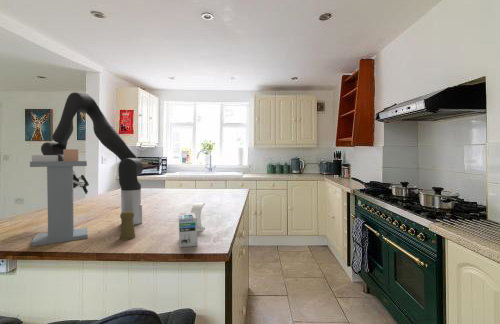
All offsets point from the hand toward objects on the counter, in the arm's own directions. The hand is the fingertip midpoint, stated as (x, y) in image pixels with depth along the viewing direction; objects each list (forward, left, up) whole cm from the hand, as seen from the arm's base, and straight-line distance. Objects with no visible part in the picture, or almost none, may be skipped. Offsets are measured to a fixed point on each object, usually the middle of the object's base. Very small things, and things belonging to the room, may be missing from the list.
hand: (76, 197), depth 128 cm
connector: (+1, +15, +18) cm, 24 cm away
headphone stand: (-47, +42, -14) cm, 65 cm away
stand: (+5, +22, -14) cm, 26 cm away
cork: (-18, +37, -14) cm, 44 cm away
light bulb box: (-37, +57, -14) cm, 70 cm away
